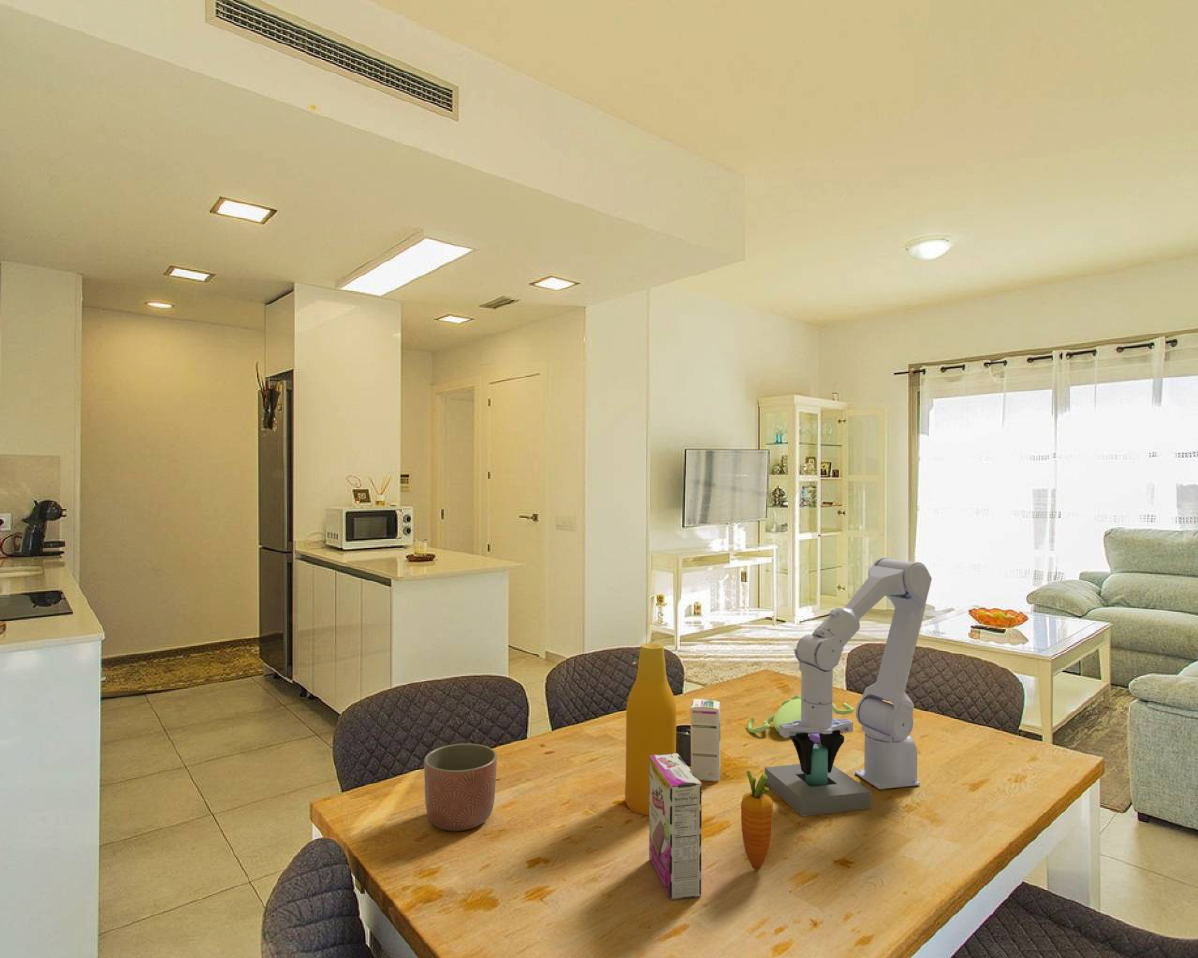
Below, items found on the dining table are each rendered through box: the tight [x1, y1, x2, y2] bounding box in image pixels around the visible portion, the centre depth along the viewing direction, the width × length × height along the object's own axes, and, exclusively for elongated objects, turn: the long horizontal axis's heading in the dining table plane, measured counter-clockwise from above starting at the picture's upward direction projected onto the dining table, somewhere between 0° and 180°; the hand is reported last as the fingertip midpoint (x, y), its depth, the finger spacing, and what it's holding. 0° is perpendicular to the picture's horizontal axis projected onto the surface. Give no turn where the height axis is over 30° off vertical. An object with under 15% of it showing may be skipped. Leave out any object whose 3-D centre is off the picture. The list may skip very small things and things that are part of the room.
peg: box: [806, 743, 828, 787], centre depth 130 cm, size 4×4×7 cm
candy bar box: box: [648, 752, 703, 901], centre depth 102 cm, size 11×5×16 cm, turn 12°
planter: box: [423, 743, 498, 832], centre depth 119 cm, size 12×12×11 cm
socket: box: [764, 763, 872, 817], centre depth 131 cm, size 14×14×3 cm
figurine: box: [746, 695, 855, 744], centre depth 168 cm, size 18×27×6 cm
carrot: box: [740, 770, 774, 872], centre depth 105 cm, size 5×5×15 cm
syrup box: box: [690, 698, 721, 782], centre depth 139 cm, size 6×6×14 cm
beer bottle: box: [624, 642, 677, 816], centre depth 126 cm, size 9×9×29 cm
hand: (816, 771), depth 131 cm, fingers closed on peg, 4 cm apart
